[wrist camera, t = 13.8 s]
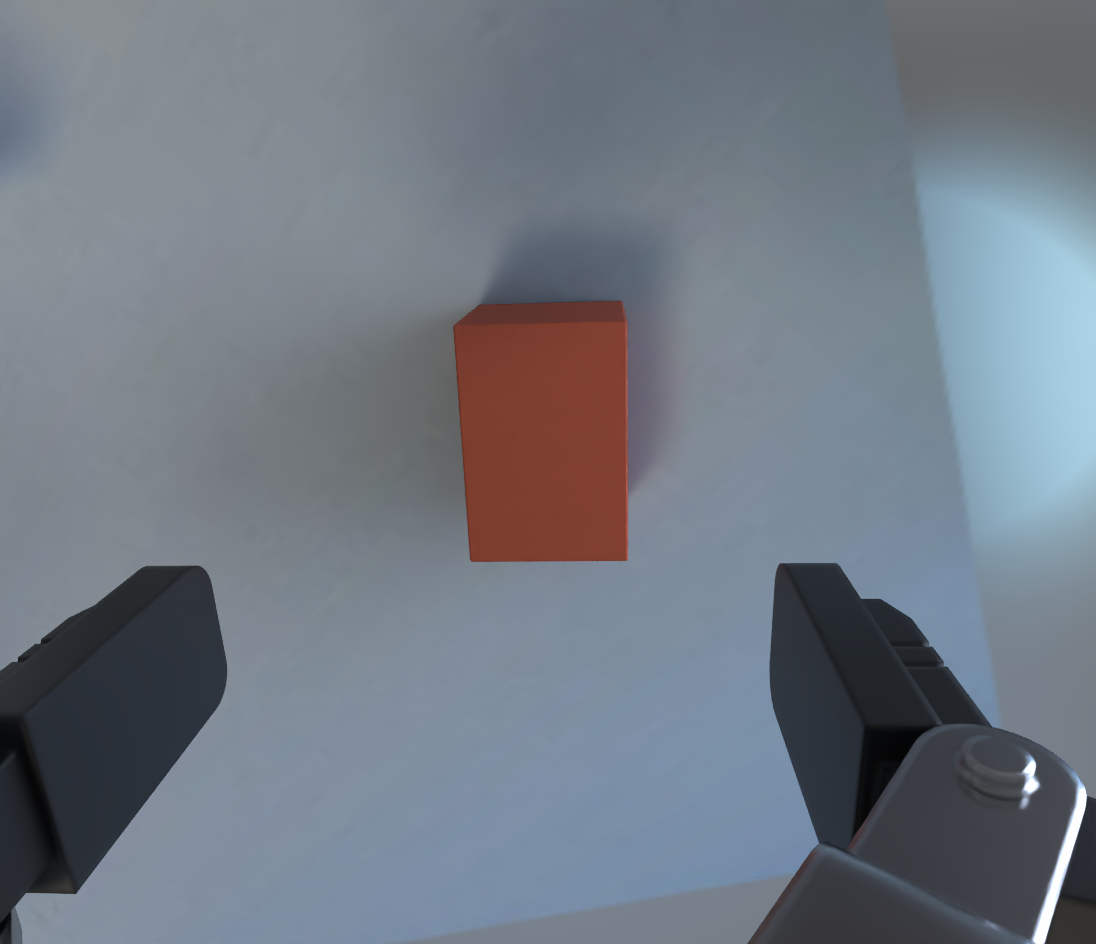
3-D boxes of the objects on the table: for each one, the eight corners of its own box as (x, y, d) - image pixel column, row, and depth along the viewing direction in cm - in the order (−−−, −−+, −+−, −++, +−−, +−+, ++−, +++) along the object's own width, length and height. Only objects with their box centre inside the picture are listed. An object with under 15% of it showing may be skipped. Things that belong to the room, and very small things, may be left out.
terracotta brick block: (623, 504, 24) (628, 561, 20) (490, 506, 24) (469, 562, 20) (622, 300, 22) (626, 320, 18) (478, 304, 22) (452, 325, 18)
